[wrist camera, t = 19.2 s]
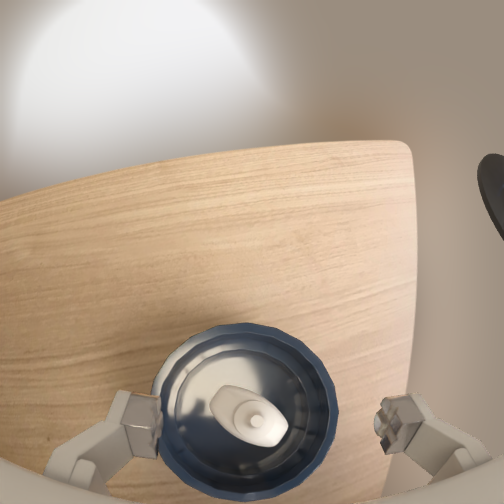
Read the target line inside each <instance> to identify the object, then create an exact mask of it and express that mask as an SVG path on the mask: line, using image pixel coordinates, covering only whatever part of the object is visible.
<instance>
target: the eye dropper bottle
mask: <svg viewBox="0 0 504 504" xmlns="http://www.w3.org/2000/svg"><path fill="white" fill-rule="evenodd" d="M209 408H210V411H211V413H212V414H213V416H214V417H215V418H216V420H217V421H218V422H219V423H220V424H221V425H222V426H223V427H224V428H225V429H226V430H227V431H228V432H229V433H231V434H232V435H234V436H235V437H237V438H239V439H241V440H243V441H245V442H248V443H250V444H254V445H258V446H264V447H272V446H275V445H277V444H278V443H279V441H280V440H281V439H282V437H283V436H284V434H285V433H286V431H287V429H288V423H287V421H286V419H285V418H284V416H283V415H282V413H281V412H280V411H279V410H278V409H277V408H276V407H275V406H274V405H273V404H272V403H271V402H269V401H268V400H267V399H265V398H264V397H262V396H260V395H259V394H257V393H255V392H252V391H250V390H247V389H244V388H241V387H237V386H232V385H224V386H222V387H221V388H220V389H219V390H218V392H217V393H216V394H215V396H214V397H213V398H212V400H211V401H210V404H209Z"/></svg>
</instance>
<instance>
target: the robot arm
mask: <svg viewBox="0 0 504 504" xmlns="http://www.w3.org/2000/svg"><path fill="white" fill-rule="evenodd" d="M161 404H162V403H161V397H160V396H155V395H149V394H143V393H137V392H130V391H124V390H118V391H117V392H116V395H115V397H114V399H113V402H112V404H111V407H110V409H109V412H108V414H107V417H106V419H105V421H102V420H101V421H99V422H98V423H96V424H95V425H93V426H91V427H90V428H88V429H87V430H85V431H83V432H82V433H80V434H78V435H77V436H75V437H74V438H72V439H70V440H69V441H67V442H65V443H64V444H62V445H60V446H59V447H57V448H55V449H54V450H53V453H52V455H51V457H50V459H49V461H48V463H47V466H46V468H45V470H44V472H43V475H40V474H38V473H35V472H33V471H30V470H28V469H26V468H23V467H21V466H19V465H16V464H14V463H12V462H10V461H7V460H5V459H3V458H1V457H0V504H145V503H139V502H134V501H129V500H124V499H120V498H115V497H112V496H111V494H110V492H109V490H108V488H107V486H106V485H105V483H106V482H107V481H108V480H109V479H110V478H111V477H113V476H114V475H115V474H116V473H117V472H118V471H119V470H120V469H121V468H123V467H124V466H125V465H126V464H127V463H128V462H129V461H130V460H131V459H132V458H133V456H135V457H142V458H149V459H157V456H158V451H159V446H160V445H159V439H158V438H160V437H161V436H162V431H163V412H162V411H161V410H160V408H161ZM380 405H381V407H382V408H381V409H380V410H379V411H378V412H377V413H376V415H375V418H374V429H375V432H376V434H377V435H378V436H380V437H381V438H382V439H381V442H380V444H381V446H382V448H383V450H384V453H385V455H388V454H393V453H399V452H404V453H405V454H406V455H407V456H409V457H410V458H411V459H412V460H413V461H415V462H416V463H417V464H418V465H420V466H421V467H422V468H423V469H425V470H426V471H427V472H428V473H429V474H431V475H432V476H433V478H432V480H431V481H430V482H429V483H428V484H427V485H426V486H423V487H420V488H416V489H413V490H409V491H406V492H402V493H398V494H394V495H391V496H386V497H382V498H377V499H373V500H368V501H363V502H358V503H352V504H504V454H503V455H501V456H499V457H497V458H495V459H492V457H491V456H490V455H489V453H488V451H487V450H486V448H485V447H484V445H483V444H482V442H481V441H480V440H479V439H477V438H475V437H473V436H471V435H469V434H468V433H466V432H464V431H462V430H460V429H458V428H456V427H455V426H453V425H451V424H449V423H447V422H446V421H443V420H442V419H440V418H436V417H435V416H434V414H433V413H432V411H431V409H430V408H429V406H428V405H427V403H426V402H425V400H424V399H423V397H422V396H421V394H419V393H411V394H407V395H406V394H405V395H398V396H391V397H385V398H384V399H383V400H382V402H381V404H380Z"/></svg>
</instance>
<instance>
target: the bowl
mask: <svg viewBox="0 0 504 504" xmlns="http://www.w3.org/2000/svg"><path fill="white" fill-rule="evenodd" d="M224 385H232V386H237V387H241V388H244V389H247V390H250V391H252V392H255V393H257V394H259V395H260V396H262V397H264V398H265V399H267V400H268V401H269V402H271V403H272V404H273V405H274V406H275V407H276V408H277V409H278V410H279V411H280V412H281V413H282V415H283V416H284V418H285V419H286V421H287V423H288V429H287V431H286V433H285V434H284V436H283V437H282V439H281V440H280V441H279V443H278V444H277V445H275V446H272V447H264V446H258V445H254V444H250V443H248V442H245V441H243V440H241V439H239V438H237V437H235V436H234V435H232V434H231V433H229V432H228V431H227V430H226V429H225V428H224V427H223V426H222V425H221V424H220V423H219V422H218V421H217V420H216V418H215V417H214V416H213V414H212V413H211V411H210V408H209V404H210V401H211V400H212V398H213V397H214V396H215V394H216V393H217V392H218V390H219V389H220V388H221V387H222V386H224ZM150 395H155V396H160V397H161V403H162V404H161V408H160V410H161V411H162V412H163V431H162V436H161V437H160V438H158V439H159V445H160V446H159V453H160V455H161V457H162V459H163V461H164V462H165V464H166V465H167V466H168V467H169V468H170V469H171V470H172V471H173V472H174V473H175V474H176V475H177V476H178V477H179V478H180V479H181V480H182V481H183V482H184V483H185V484H187V485H189V486H191V487H193V488H195V489H197V490H199V491H201V492H203V493H205V494H207V495H209V496H211V497H214V498H219V499H225V500H232V501H239V502H249V501H256V500H262V499H268V498H273V497H276V496H278V495H280V494H282V493H284V492H286V491H288V490H291V489H293V488H294V487H296V486H298V485H300V484H301V483H302V482H304V481H305V480H306V479H307V478H308V477H309V476H310V475H311V474H312V473H313V472H314V471H315V470H316V469H317V468H318V467H319V466H320V465H321V464H322V462H323V460H324V459H325V457H326V455H327V453H328V451H329V449H330V447H331V445H332V443H333V441H334V439H335V433H336V427H337V421H338V414H339V410H338V404H337V398H336V392H335V386H334V383H333V382H332V380H331V378H330V376H329V374H328V372H327V370H326V368H325V366H324V365H323V363H322V361H321V360H320V359H319V358H318V357H317V356H316V355H315V354H314V353H313V352H312V351H311V350H310V349H309V348H308V347H307V346H306V345H305V344H304V343H303V342H302V341H300V340H298V339H297V338H295V337H293V336H291V335H289V334H287V333H285V332H283V331H281V330H279V329H277V328H274V327H269V326H263V325H258V324H253V323H237V324H227V325H218V326H215V327H213V328H211V329H208V330H206V331H203V332H201V333H199V334H196V335H194V336H191V337H190V338H189V339H188V340H186V341H185V342H184V343H183V344H182V345H181V346H179V347H178V348H177V349H176V350H175V351H173V352H172V353H171V354H170V355H169V356H168V357H167V359H166V361H165V362H164V364H163V366H162V367H161V369H160V370H159V372H158V374H157V375H156V377H155V379H154V381H153V385H152V390H151V394H150Z"/></svg>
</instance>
